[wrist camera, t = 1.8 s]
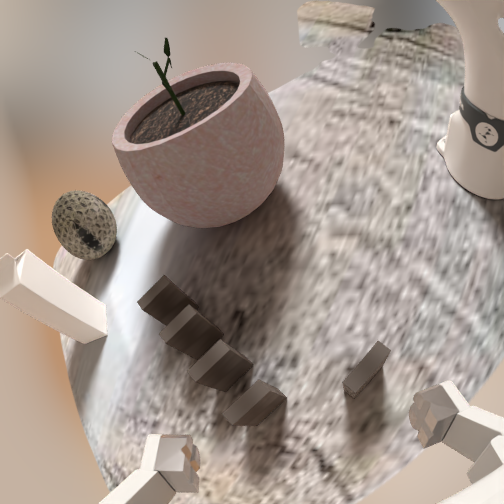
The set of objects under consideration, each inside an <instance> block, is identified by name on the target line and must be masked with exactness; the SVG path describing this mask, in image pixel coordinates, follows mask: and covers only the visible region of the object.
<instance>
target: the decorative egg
mask: <svg viewBox="0 0 504 504" xmlns="http://www.w3.org/2000/svg"><path fill="white" fill-rule="evenodd" d="M52 225H53V229H54V232H55V234H56V236H57V238H58V240H59V241H60V243H61V244H62V246H63V247H64V248H65V249H66V250H67V251H68V252H69V253H71V254H72V255H74V256H75V257H78V258H80V259H85V260H93V259H97V258H100V257H102V256H103V255H105V254H106V253H107V252H108V251H109V250H110V249H111V247H112V246H113V244H114V242H115V239H116V233H117V227H116V221H115V218H114V215H113V213H112V212H111V210H110V209H109V207H108V206H107V205H106V204H105V203H104V202H103V201H102V200H101V199H99V198H98V197H97V196H95V195H93V194H91V193H88V192H85V191H70V192H67V193H65V194H63V195H62V196H61V197H60V198H59V199H58V200H57V201H56V203H55V205H54V208H53V212H52Z"/></svg>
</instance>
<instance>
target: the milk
mask: <svg viewBox="0 0 504 504" xmlns="http://www.w3.org/2000/svg"><path fill="white" fill-rule="evenodd" d="M0 298H1V299H2V300H4V301H6V302H7V303H9V304H10V305H12V306H14V307H15V308H17V309H19V310H20V311H22V312H24V313H26V314H27V315H29V316H31V317H33V318H34V319H36V320H38V321H40V322H42V323H44V324H45V325H47V326H49V327H51V328H53V329H55V330H57V331H59V332H60V333H62V334H64V335H66V336H68V337H70V338H72V339H75V340H77V341H79V342H81V343H83V344H87V343H89V342H92V341H94V340H96V339H99V338H101V337H104V336H106V335H108V334H107V314H106V305H105V304H104V303H102V302H100V301H99V300H97V299H96V298H94V297H93V296H91V295H90V294H88V293H87V292H85V291H84V290H82V289H81V288H79V287H78V286H77V285H75V284H74V283H72V282H71V281H69V280H68V279H67V278H65V277H64V276H62V275H61V274H60V273H58V272H57V271H55V270H54V269H53V268H51V267H50V266H48V265H47V264H46V263H45V262H43V261H42V260H41V259H39V258H38V257H37V256H35V255H34V254H33V253H32V252H30V251H29V250H28V249H26V250H25V251H24V252H22V253H21V254H20V255H19V256H17V257H16V258H13V257H12V256H11V255H10V254H5V255H4V256H3V257H2V258H0Z"/></svg>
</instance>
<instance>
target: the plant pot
mask: <svg viewBox="0 0 504 504" xmlns="http://www.w3.org/2000/svg"><path fill="white" fill-rule="evenodd" d="M164 53H165V54H166V55H167V56H168V59H167V63H166V67H165V71H164V73H163V72H162V70H161V68H160V66H159V64H158V63H157V62H153V66H154V67H155V69H156V71H157V73H158V74H159V76H160V78H161V80H162V85H160V86H158V87H157V88H155V89H154V90H152V91H151V92H149V93H148V94H146V95H145V96H144V97H143V98H142V99H140V100H139V101H138V102H137V103H135V104H134V105H133V106H132V107H131V108H130V109H129V110H128V111H127V112H126V114H125V115H124V116H123V117H122V119H121V120H120V121H119V123H118V124H117V126H116V128H115V131H114V133H113V135H112V144H113V146H114V149H115V152H116V155H117V157H118V160H119V162H120V165H121V167H122V169H123V171H124V173H125V175H126V177H127V179H128V180H129V182H130V183H131V185H132V187H133V188H134V189H135V191H136V192H137V194H138V195H139V196H140V198H141V199H142V200H143V201H144V202H145V203H146V204H147V205H148V206H149V207H150V208H151V209H152V210H154V211H155V212H157V213H158V214H160V215H162V216H164V217H166V218H167V219H169V220H171V221H173V222H175V223H177V224H180V225H183V226H189V227H196V228H211V227H220V226H224V225H227V224H230V223H233V222H236V221H238V220H240V219H241V218H243V217H245V216H247V215H249V214H250V213H251V212H253V211H254V210H255V209H256V208H258V207H259V206H260V205H261V204H262V203H263V202H264V201H265V200H266V198H267V197H268V196H269V195H270V193H271V192H272V191H273V189H274V187H275V185H276V183H277V181H278V178H279V176H280V174H281V171H282V167H283V157H284V133H283V128H282V124H281V121H280V118H279V116H278V114H277V111H276V109H275V107H274V104H273V102H272V100H271V99H270V97H269V95H268V93H267V92H266V90H265V89H264V87H263V85H262V84H261V83H260V81H259V80H258V78H257V77H256V76H255V75H254V73H253V72H252V71H251V70H250V68H248V67H246V66H245V65H243V64H238V63H218V64H213V65H208V66H204V67H200V68H198V69H194V70H191V71H189V72H186V73H184V74H181V75H179V76H177V77H174V78H173V79H171V80H169V81H168V80H167V79H166V72H167V69H168V65H169V63H170V65H171V60H170V58H169V56H170V47H169V42H168V39H167V38H165V45H164ZM147 59H148V58H147ZM171 68H172V67H171Z"/></svg>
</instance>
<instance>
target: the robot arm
mask: <svg viewBox="0 0 504 504" xmlns="http://www.w3.org/2000/svg"><path fill="white" fill-rule="evenodd" d="M436 1H437V2H438V3H439V4H440V5H441V6H442V7H443V8H444V9H445V10H446V11H447V13H448V14H449V15H450V16H451V18H452V20H453V21H454V23H455V25H456V26H457V29H458V31H459V33H460V36H461V39H462V42H463V47H464V56H465V84H464V87H463V88H462V90H461V95H460V106H459V110H458V111H455V112H454V113H453V114H451V116H450V120H449V125H448V131H447V135H446V136H445V137H444V138H442V139H441V140H440V141H438V143H437V150H438V151H439V152H440V154H441V155H442V156H443V157H444V159H445V162H446V166H447V168H448V170H449V172H450V174H451V175H452V176H453V178H454V179H455V180H456V181H457V182H458V183H459V184H460V185H462V186H463V187H464V188H465V189H467V190H469V191H470V192H472V193H474V194H476V195H478V196H481V197H484V198H488V199H503V198H504V33H503V32H502V31H501V30H500V28H499V26H498V19H499V18H504V0H436ZM413 400H414V403H413V404H412V406H411V407H410V410H409V419H410V423H411V425H412V427H413V428H414V429H416V430H418V431H419V432H418V436H417V437H418V439H419V440H420V442H421V444H422V446H423V448H427V447H429V446H432V445H434V444H436V443H439V442H441V441H442V443H444V444H446V445H447V446H449V447H451V448H452V449H454V450H455V451H457V452H459V453H460V454H462V455H463V456H465V457H467V458H468V459H470V460H472V461H473V462H475V463H474V464H473V465H472V466H471V468H470V469H469V470H468V472H467V475H468V477H469V479H470V481H471V483H472V485H470V486H469V487H467V488H465V489H463V490H461V491H460V492H458V493H456V494H454V495H452V496H450V497H448V498H446V499H444V500H442V501H440V502H438V503H436V504H504V418H503V417H501V416H498V415H496V414H493V413H491V412H488V411H485V410H483V409H481V408H478V407H476V406H471V407H470V405H469V404H468V403H467V401H466V400H465V398H464V397H463V396H462V394H461V393H460V392H459V390H458V389H457V388H456V386H455V385H454V384H453V382H452V381H450V380H448V381H445V382H443V383H440V384H438V385H435V386H432V387H430V388H427V389H424V390H422V391H419V392H417V393H416V394H415V395H414V397H413ZM199 469H200V454H199V451H198V448H197V446H195V445H194V444H193V439H192V437H191V435H164V434H149V435H148V437H147V439H146V443H145V448H144V452H143V456H142V461H141V465H140V470H137V469H136V470H135V471H134V472H133V473H132V474H131V475H129V476H128V477H127V478H126V479H125V480H124V481H123V482H122V483H121V484H120V485H119V486H117V487H116V488H115V489H114V490H113V491H112V492H111V493H110V494H109V495H107V496H106V497H105V498H104V499H103V500H102V501H101V502H100V503H98V504H168V503H169V502H170V501H171V500H172V498H173V497H174V496H175V494H176V492H198V490H199V477H198V475H197V473H196V472H197V471H198V470H199Z"/></svg>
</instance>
